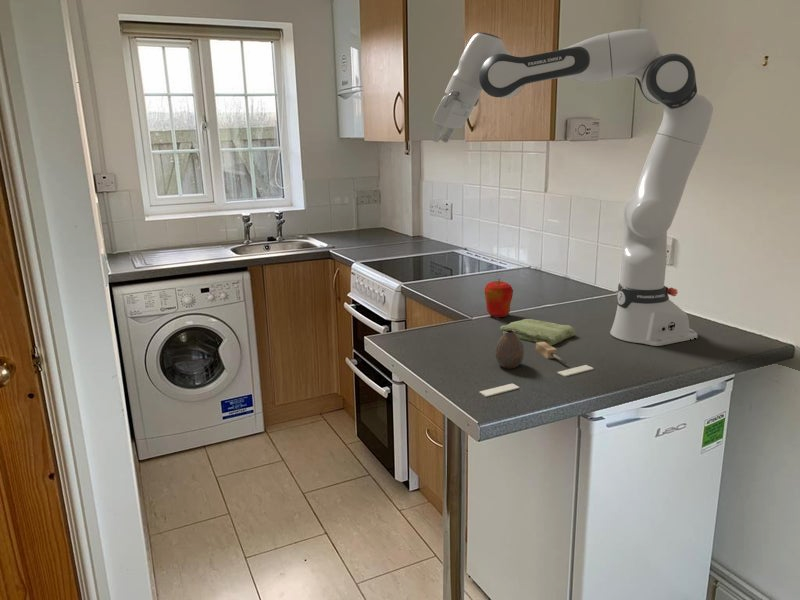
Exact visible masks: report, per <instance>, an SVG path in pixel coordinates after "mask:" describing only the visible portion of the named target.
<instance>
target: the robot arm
mask: <svg viewBox="0 0 800 600" xmlns="http://www.w3.org/2000/svg"><path fill="white" fill-rule="evenodd" d="M627 77H628V78H629V77H632V78H635V80H636V82H637V84H638V86H639V89H640V92H641V94H642V95H643V97H644V98H645V99H646V100H647V101H649V102H650V103H652V104H656V105H661V107H662V110H663V115H662V116H663V117H662V121H661V123H660V126H659V128H658V130H657V133H656V135H655V138H654V140H653V142H652V145H651V147H650V149H649V152H648V154H647V156H646V158H645V159H646V160H645V162H644V165H643V168H642V170H641V174H640V176H639V179H638V182H637V184H636V187H635V191H634V193H633V194H632V195H631V196H630V197H629V198H628V199H627V201H626V203H625V206H624V211H623V227H622V228H623V229H622V249H621V267H620V281H619V283H618V287H617V296H616V299H617V301H616V302H617V307H616V312H615V316H614V321H613V323H612V326H611V328H610V332H609V333H610V335H611V336H612V337H614V338H616V339H618V340H621V341H625V342H630V343H634V344H635V343H637V344H644V345H649V346H654V347H658V346H659V347H660V346H664V345H671V344H675V343H679V342H681V343H682V342H685V341H690V339H691V340H695V339H694V338H696V339H698V333H697V332H696V331H695V330H694V329H692V328H690V321H689V317H688V314H687V313H686V312H685V311H684V310H683V309H682V308H681V307H679V306H678V305H676V304H675V303H674V301H672V300H671V299H670V297H669V296H671V297H676V296H677V295H678V293H679V292H678V289H677V288H673V287H668V286H666V285H665V279H666V269H667V268H666V267H667V260H668V259H667V257H668V256H667V255H668V254H667V251H668V250H667V249H668V248H667V244H668V242H667V241H668V239H667V238H668V236H667V235H668V230H670V227H671V226H672V224H673V221H674V219H675V217H676V214H677V210H678V208H679V206H680V203H681V199H682V198H683V197H682V196H683V194H684V191H685V188H686V184H687V181H688V179H689V176H690V174H691V171H692V169H693V168H694V165H695V162H696V160H697V157H698V155H699V153H700V151H701V149H702V146H703V144H704V142H705V139H706V136H707V133H708V131H709V128H710V124H711V120H712V115H713V110H714V108H713V107H714V106H713V104H712V102H711V101H710V99H708V98H707V97H706V96H703V95H701V94H699V93H698V87H697V79H696V77H697V76H696V71H695V67H694V65H693V63H692V61H691V60H690V59H689V58H687V57H686V56H684V55H683V54H679V53H668V54H662V53H661V52H660V50H659V43H658V39H657V37H656V35H655V34H654V33H653V31H652V30H650V29H647V28H636V29H635V28H634V29H623V30H616V31H612V32H608V33H607V32H606V33H602V34H598V35H595V36H592V37H590V38H587V39H584V40H582V41H579V42H577V43H574V44H572V45H570V46H569V45H568V46H567V47H565V48H560V49H557V50H554V51H548V52H542V53H539V54H533V55H529V56H515V55H512V54H510V52H509V51H508V49H507V48H506V46H505V44H504V43H503V39H501V38H500V37H499V36H497V35H494V34H492V33H488V32H481V31H480V32H477V33H475V34H473V35H472V37H471V38H470V39H469V40H468V43H467V45H466V46H465V48H464V50H463V52H462V54H461V56H460V57H459V60H458V66H457V67H456V69H455V70H454V72H453V73H452V76H451V77H450V79H449V82H448V84H447V86H446V89H445V91H444V93H445V94H446V95H444V96H443V98H442V99H441V101H440V102H439V105H438V106H437V108H436V110H435V113H434V115H433V117H432V122H433V123H435V124H436V125H435V126H434V131H433V135H432V137H431V141H433V142H435V143H439V142H440V140H441V142H444V143H449V140H450V138H451V137H452V135H453V134H455V131H456V130H461V129H462V128H463V126H464V125H465V124H466V122H467V121H468V119H469V117H470V115H471V113H472V111H473V109H474V107H477V106H478V103H479V100H480V99H479V97H480V95H481V93H482V91H484V93H486V94H487V95H489V96H491V97H494V98H501V99H510V98H513V97H515V96H517V95H518V94H519V93H520V92H521V91H522V89H523V88H524V86H525V85H528V84H529V85H530V84H534V83H538V82H539V83H540V82H544V81H549V80H555V79H571V80H575V81H578V82H582V83H599V82H607V81H611V80H612V81H613V80H616V79H620V78H621V79H622V78H627ZM445 128H446V130H445V132H444V133H443V131H444V129H445ZM442 133H443V134H442Z"/></svg>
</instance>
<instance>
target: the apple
mask: <svg viewBox="0 0 800 600" xmlns="http://www.w3.org/2000/svg"><path fill="white" fill-rule="evenodd" d="M513 293H514V289H513V287H512V286H511V284H509V283H507V282H506V281H500V278H498V280H496V281H495V280H494V281H490V282H488V283H487V284H486V285H485V287H484V298H485V303H486V304H485V306H486V312H487V313H488V314H489V315H490V316H491V317H494V318H504V317H505V318H506V317H507V316H508V315H509V313H510V312H511V303H512V300H513V296H514V294H513Z"/></svg>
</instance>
